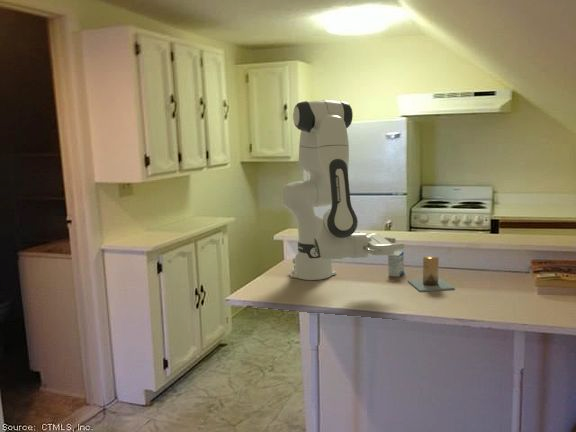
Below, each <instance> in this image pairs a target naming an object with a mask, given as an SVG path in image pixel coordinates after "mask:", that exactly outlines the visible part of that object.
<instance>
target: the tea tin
mask: <svg viewBox="0 0 576 432" xmlns="http://www.w3.org/2000/svg"><path fill="white" fill-rule="evenodd" d="M439 262H440V261H439V256H436V255H425V256H422V279H423V284H424V285H427V286H436V285H438V278H439Z"/></svg>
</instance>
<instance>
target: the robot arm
mask: <svg viewBox="0 0 576 432" xmlns="http://www.w3.org/2000/svg"><path fill="white" fill-rule="evenodd" d="M353 114H354V113H353V109H352V107H351V104H349V103H348V102H345V101H341V100H339V101H337V100H326V99H325V100H324V99H322V100H313V101H307V100H306V101H301V102H298V103H296V105H295V107H294V108H293V114H292V119H293V124H294V127H296V128H297V129H298V130H300V135H299V136H300V137H299V142H298V143H299V144H298V146H299V147H298V148H299V149H298V165H299V166H300V168H301V169H302V170H303V171H305V172H307V173H309V174H308V175H309V179H308V180H298V181H292V182H289V183H286V184H284V185H283V186H282V188H281V190H280V201H281V203H282V206H284V208H286V209H287V210H288V211H290V212H291V214H292V215H293V216H294V218H295V221H296V224H297V231H298V242H297V254H296V255H295V256H294V257H293V258H292V264H293V266H292V269H291V272H290V278H295V279H300V280H305V281H316V280H324V279H328V278H330V277H332V276H335V275H337V271H335V270H334V269H333V264H332V263H333V261H332V260H342V259H345V258H350V259H360V258H361V259H363V258H368V256H369V255H372V256H388V255H393V254H394V251H399V250H402V249H404V248H405V244H404V243H402V242H398V243H396V242H397V239H396V238H395V237H388V236H382V235H380V234H379V233H374V232H373V233H372V232H368V233H367V232H365V231H364V232H361V231H356V230H357V227H358V223H359V221H358V216H357V215H356V212H355V211H354V208H353V207H352V202H351V191H350V182H349V165H350V164H349V161H350V145H349V135H348V128H349V127H350V125H351V124H352V122H353ZM328 206H331V208H330V209H328V210H326V211H325V213H324V214H323V216H322V218H321V217H320V216H317V215H316V214H315V212H314V208H319V207H320V208H321V207H328Z"/></svg>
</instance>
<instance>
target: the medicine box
mask: <svg viewBox="0 0 576 432" xmlns="http://www.w3.org/2000/svg"><path fill="white" fill-rule="evenodd" d="M404 255H405V254H404V251H400V250H394V254H393V255H387V256H388V257H387V258H388V259H387V263H388V267H387V268H388V276H389V277H398V278H399V277H400V276H402V274H404V272H405V266H404V263H405V262H404V259H405V257H404Z"/></svg>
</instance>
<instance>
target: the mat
mask: <svg viewBox="0 0 576 432" xmlns="http://www.w3.org/2000/svg"><path fill="white" fill-rule="evenodd" d="M407 282H408V283H409V284H410V285H411V286H412V287H414V288H415V289H416V290H417V291H418V292H419V293H421V292H434V291H435V292H436V291H437V292H439V291H451V290H455V289H456V288H455V287H454V286H453V285H451V284H450V282H447V281H446V280H444V279H443V278H442V277H438V285H436V286H427V285H424V284H423V278H422V279H421V278H420V279H407Z"/></svg>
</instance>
